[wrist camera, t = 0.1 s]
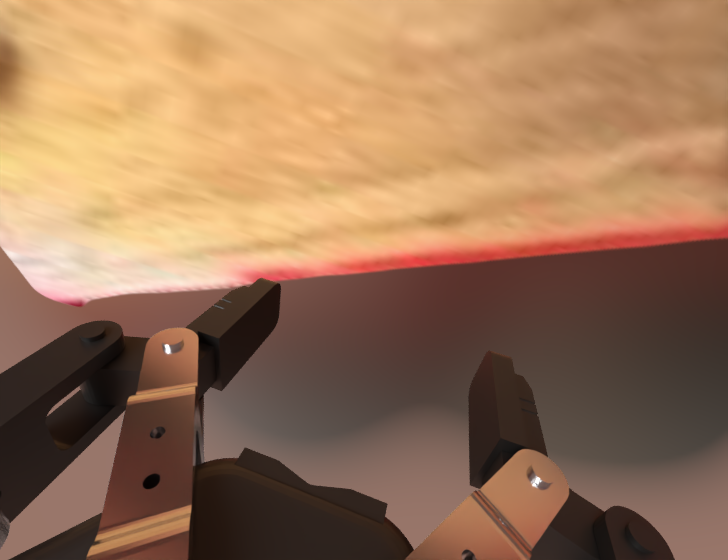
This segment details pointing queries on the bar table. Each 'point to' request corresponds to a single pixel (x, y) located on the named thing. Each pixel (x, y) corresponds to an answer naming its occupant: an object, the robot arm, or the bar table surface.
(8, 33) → the bar table surface
